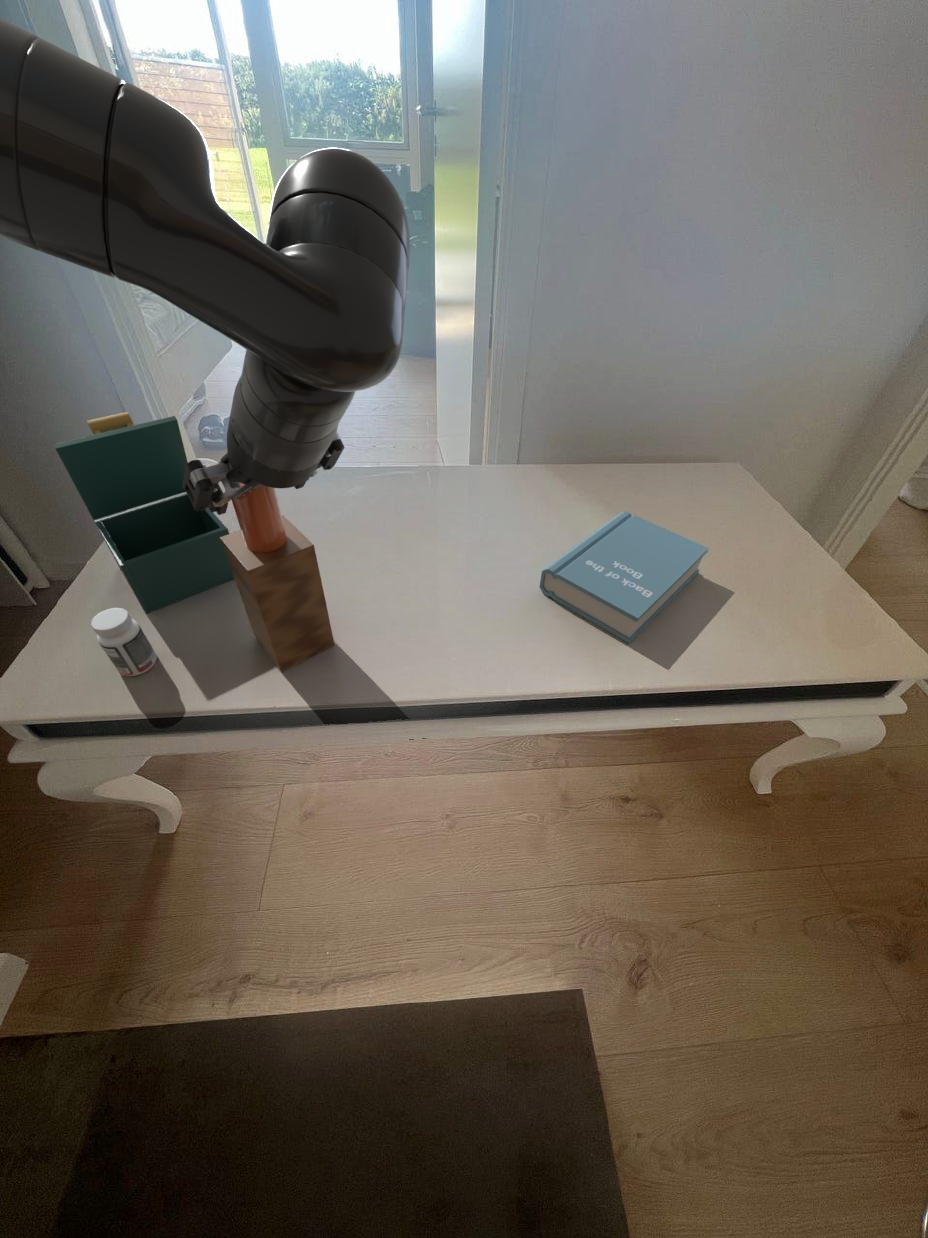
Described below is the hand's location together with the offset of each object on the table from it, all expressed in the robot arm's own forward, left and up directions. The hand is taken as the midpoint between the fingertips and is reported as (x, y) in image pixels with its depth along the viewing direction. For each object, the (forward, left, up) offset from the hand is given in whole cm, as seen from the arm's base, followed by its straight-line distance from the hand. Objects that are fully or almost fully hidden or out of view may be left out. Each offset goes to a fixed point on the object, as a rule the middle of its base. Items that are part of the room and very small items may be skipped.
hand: (257, 492), depth 55 cm
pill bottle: (-18, +11, -24) cm, 32 cm away
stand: (0, +2, -24) cm, 24 cm away
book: (+47, -18, -24) cm, 56 cm away
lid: (-7, +30, -8) cm, 32 cm away
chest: (-7, +27, -24) cm, 37 cm away
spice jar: (0, +2, -7) cm, 7 cm away
